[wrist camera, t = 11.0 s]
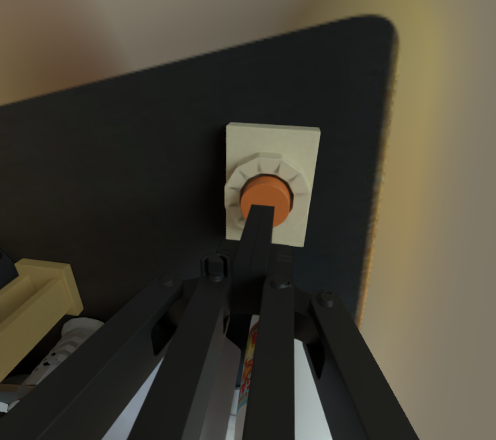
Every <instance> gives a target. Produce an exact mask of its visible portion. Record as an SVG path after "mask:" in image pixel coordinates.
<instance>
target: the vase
mask: <svg viewBox="0 0 496 440" xmlns="http://www.w3.org/2000/svg"><path fill="white" fill-rule="evenodd" d="M0 251H1V253H2V260H1V261H0V290H1V289H2V288H3V287H5V286H6V285H7V284H9V283H10V282H11V281H13V280H14V279H16V278H17V277H18V276H19V274H18V272H17V269H16V267H15V265H14V263H13V261H12V260H11V259H10V258H9V257H8V256H7V255H6V254H5V253H4V252H3V251H2V250H1V249H0Z"/></svg>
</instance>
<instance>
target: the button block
mask: <svg viewBox="0 0 496 440" xmlns="http://www.w3.org/2000/svg"><path fill="white" fill-rule="evenodd" d="M319 139H320V130H319V128H317V127H300V126H283V125H267V124H250V123H234V122H231V123H229V124H228V125H227V126H226V184H225V208H226V239H231V240H240V238H241V235H242V232H243V229H244V226H245V223H246V219H245V218H244V216H243V215H242V212H241V208H240V202H241V198H242V196H243V193H244V191H245V188H246V187H247V185H248V184H249V183H250V182H251V181H252V180H254V179H256V178H258V177H262V176H270V177H274V178H277V179H279V180H280V181H281V182H283V183H284V184H285V186H286V187H287V189H288V191H289V194H290V210H289V214H288V216H287V218H286V219H285V221H284V222H283V223H281V224H280V225H278V226H276V227H274V228H273V233H272V243H275V244H284V245H289V246H298V247H303V245H304V238H305V232H306V225H307V218H308V212H309V205H310V198H311V192H312V185H313V178H314V172H315V165H316V159H317V152H318V145H319Z"/></svg>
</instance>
